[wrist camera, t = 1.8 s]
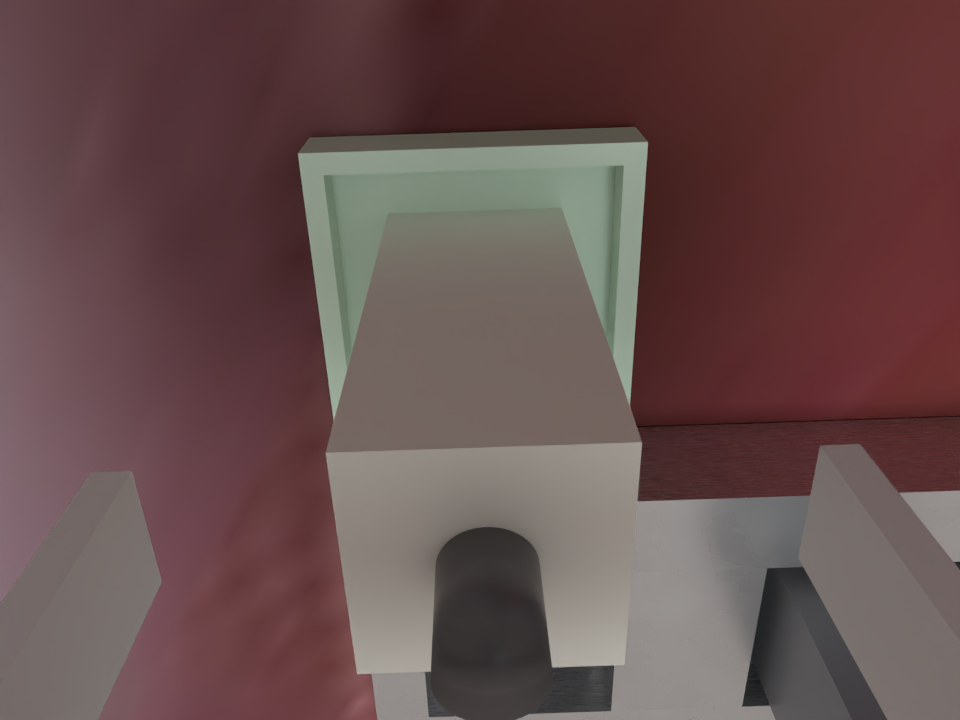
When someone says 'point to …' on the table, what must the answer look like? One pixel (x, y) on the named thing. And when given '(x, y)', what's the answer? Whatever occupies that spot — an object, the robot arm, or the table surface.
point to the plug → (484, 463)
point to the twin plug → (806, 655)
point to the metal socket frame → (719, 563)
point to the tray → (474, 187)
